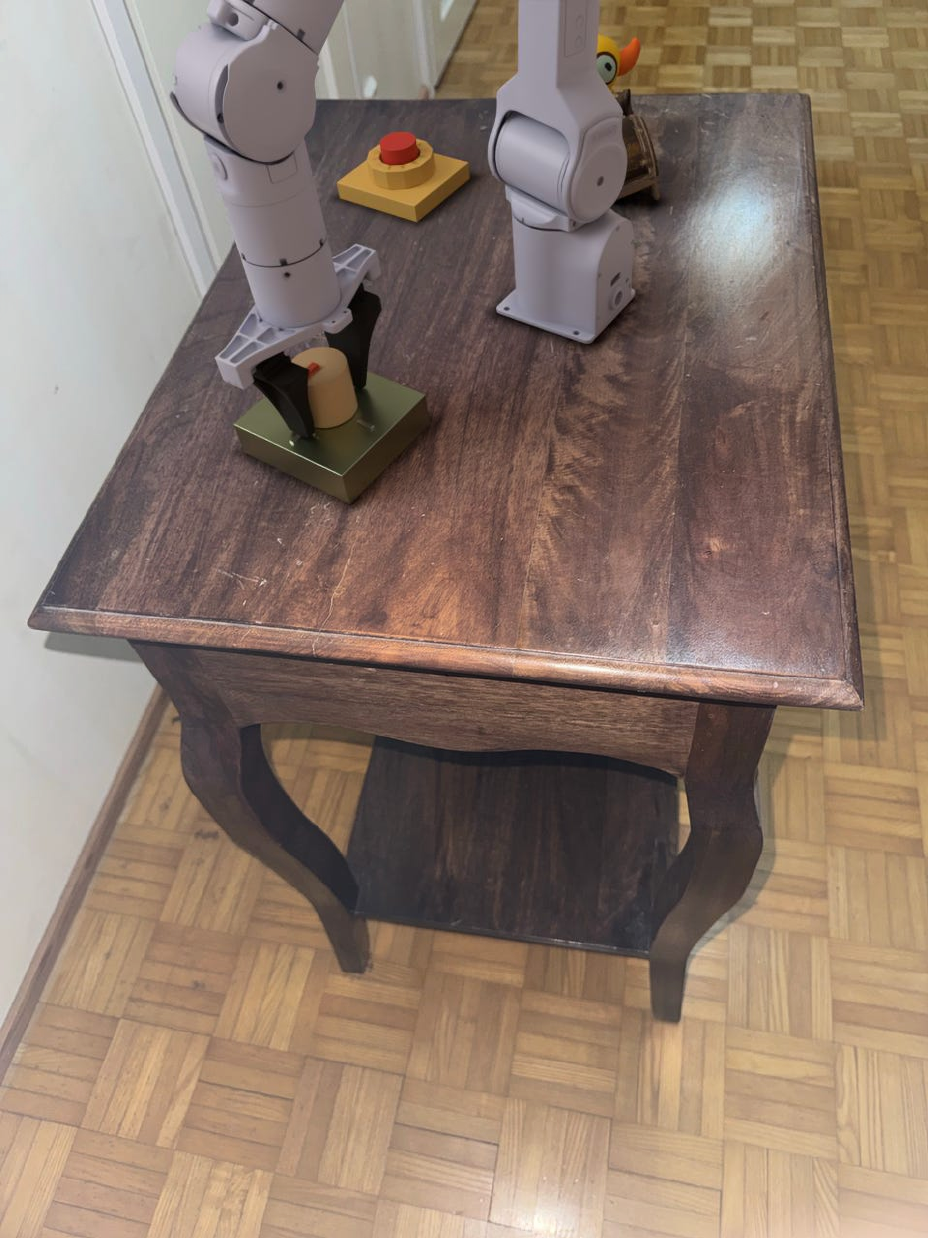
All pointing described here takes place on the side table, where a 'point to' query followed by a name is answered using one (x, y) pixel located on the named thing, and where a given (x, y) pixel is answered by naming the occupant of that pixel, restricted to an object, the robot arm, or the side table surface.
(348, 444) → the panel
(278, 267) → the robot arm
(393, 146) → the button
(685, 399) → the side table surface
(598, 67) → the duckling
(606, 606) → the side table surface
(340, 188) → the housing
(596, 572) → the side table surface
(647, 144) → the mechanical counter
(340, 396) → the knob
